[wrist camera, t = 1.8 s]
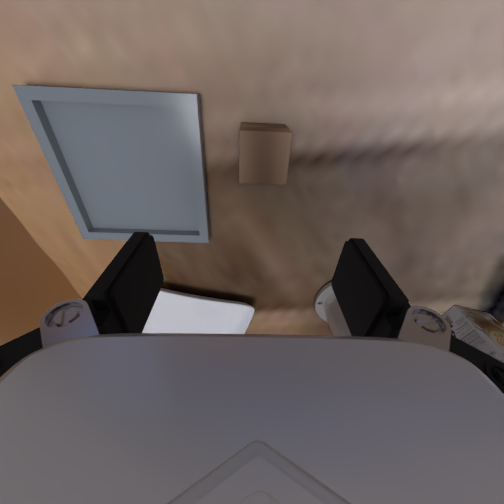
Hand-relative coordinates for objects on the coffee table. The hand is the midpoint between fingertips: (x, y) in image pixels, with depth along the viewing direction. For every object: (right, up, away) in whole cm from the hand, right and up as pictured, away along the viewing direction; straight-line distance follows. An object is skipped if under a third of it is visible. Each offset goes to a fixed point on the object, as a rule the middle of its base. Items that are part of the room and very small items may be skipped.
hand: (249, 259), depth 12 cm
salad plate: (-12, -14, +36) cm, 41 cm away
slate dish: (-15, +10, +18) cm, 26 cm away
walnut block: (+1, +13, +16) cm, 21 cm away
